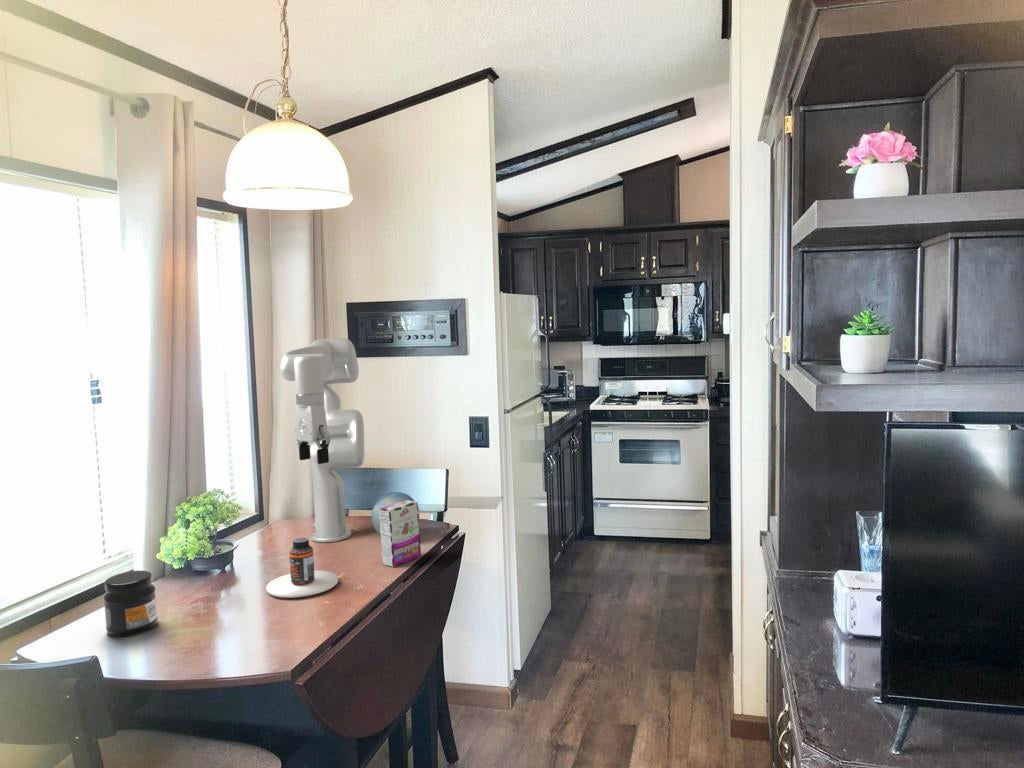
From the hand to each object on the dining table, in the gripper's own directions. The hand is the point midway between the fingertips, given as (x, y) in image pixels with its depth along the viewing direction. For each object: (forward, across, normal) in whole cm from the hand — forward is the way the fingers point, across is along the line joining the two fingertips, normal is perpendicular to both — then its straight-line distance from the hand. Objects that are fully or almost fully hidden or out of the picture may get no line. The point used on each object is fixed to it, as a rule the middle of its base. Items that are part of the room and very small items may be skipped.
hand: (314, 461), depth 199 cm
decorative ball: (+31, -5, +30) cm, 43 cm away
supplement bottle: (+29, +10, -11) cm, 33 cm away
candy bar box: (+31, +14, +18) cm, 38 cm away
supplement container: (+31, +3, -50) cm, 59 cm away
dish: (+30, +10, -11) cm, 34 cm away
